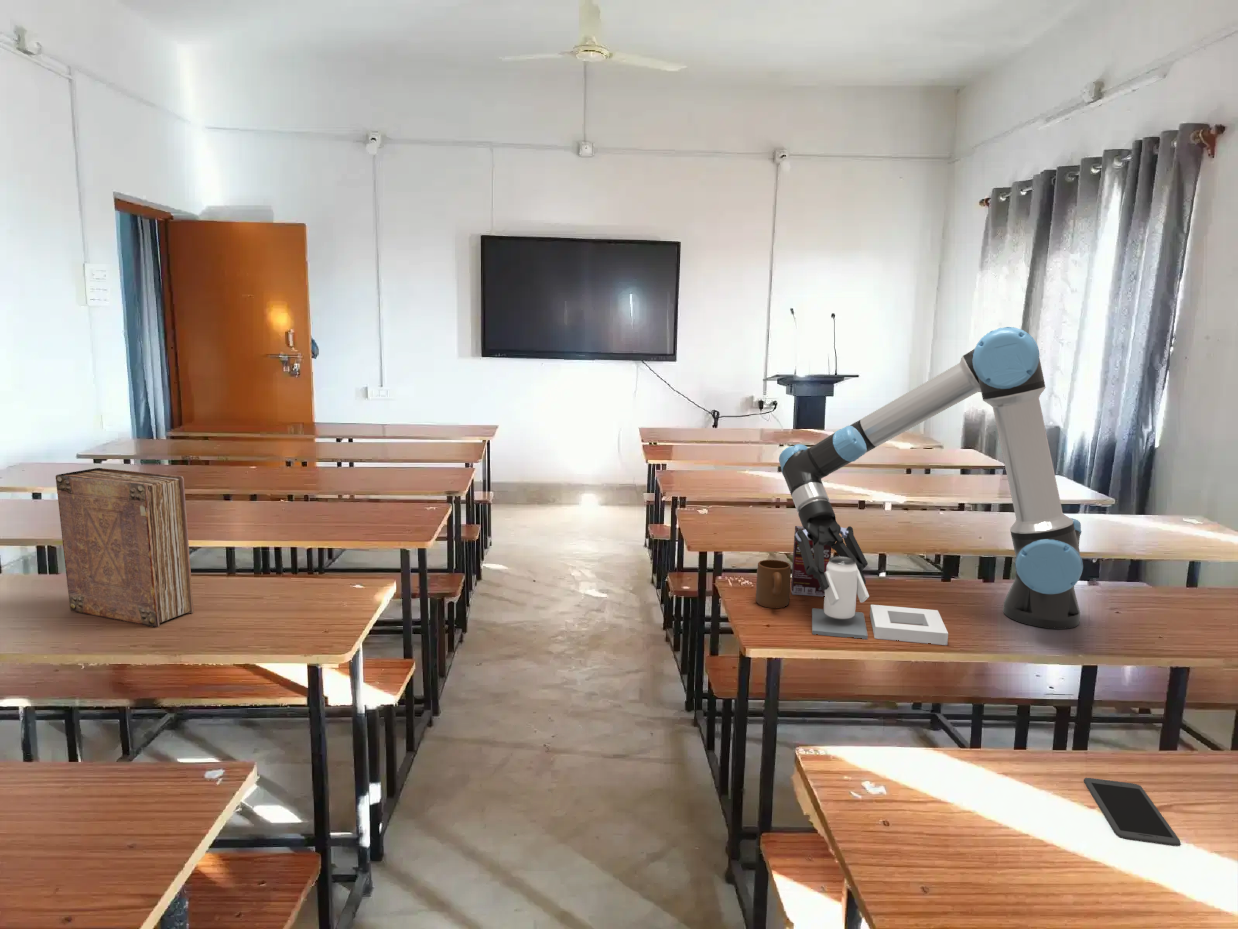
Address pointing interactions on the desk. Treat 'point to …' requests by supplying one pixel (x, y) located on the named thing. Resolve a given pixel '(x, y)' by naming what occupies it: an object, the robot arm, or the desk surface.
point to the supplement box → (800, 578)
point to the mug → (773, 583)
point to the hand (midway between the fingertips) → (849, 600)
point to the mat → (838, 625)
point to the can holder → (927, 633)
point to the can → (842, 587)
